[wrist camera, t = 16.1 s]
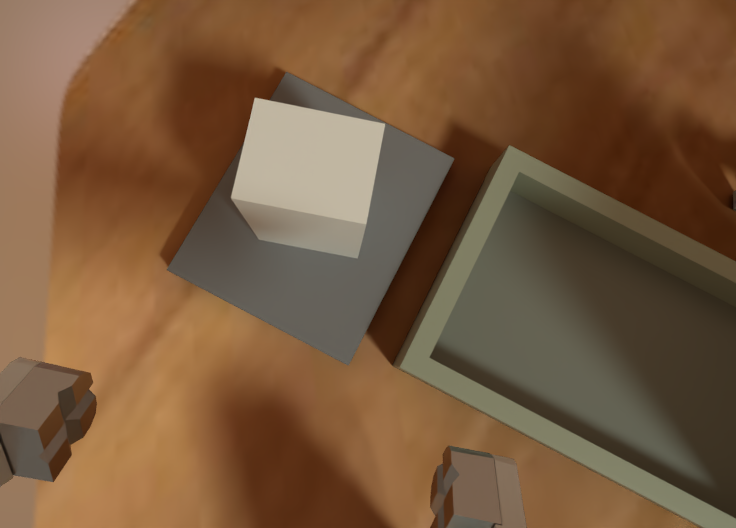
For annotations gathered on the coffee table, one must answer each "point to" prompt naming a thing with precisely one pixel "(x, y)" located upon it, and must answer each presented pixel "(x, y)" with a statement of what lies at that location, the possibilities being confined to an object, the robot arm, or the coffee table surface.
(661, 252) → the equipment case
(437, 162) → the rubber mat
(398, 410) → the coffee table surface
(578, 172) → the coffee table surface
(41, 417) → the robot arm
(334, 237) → the block
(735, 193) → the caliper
